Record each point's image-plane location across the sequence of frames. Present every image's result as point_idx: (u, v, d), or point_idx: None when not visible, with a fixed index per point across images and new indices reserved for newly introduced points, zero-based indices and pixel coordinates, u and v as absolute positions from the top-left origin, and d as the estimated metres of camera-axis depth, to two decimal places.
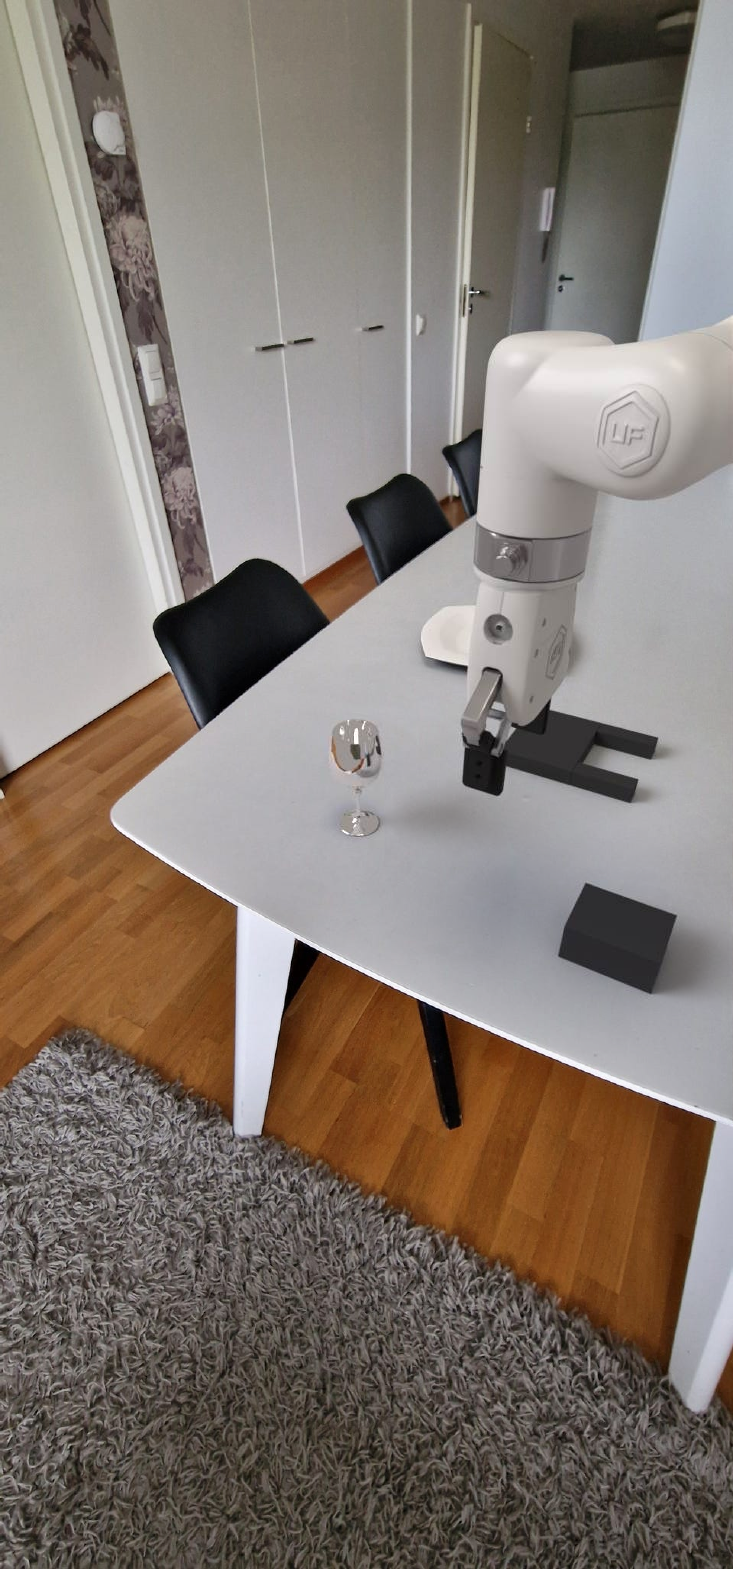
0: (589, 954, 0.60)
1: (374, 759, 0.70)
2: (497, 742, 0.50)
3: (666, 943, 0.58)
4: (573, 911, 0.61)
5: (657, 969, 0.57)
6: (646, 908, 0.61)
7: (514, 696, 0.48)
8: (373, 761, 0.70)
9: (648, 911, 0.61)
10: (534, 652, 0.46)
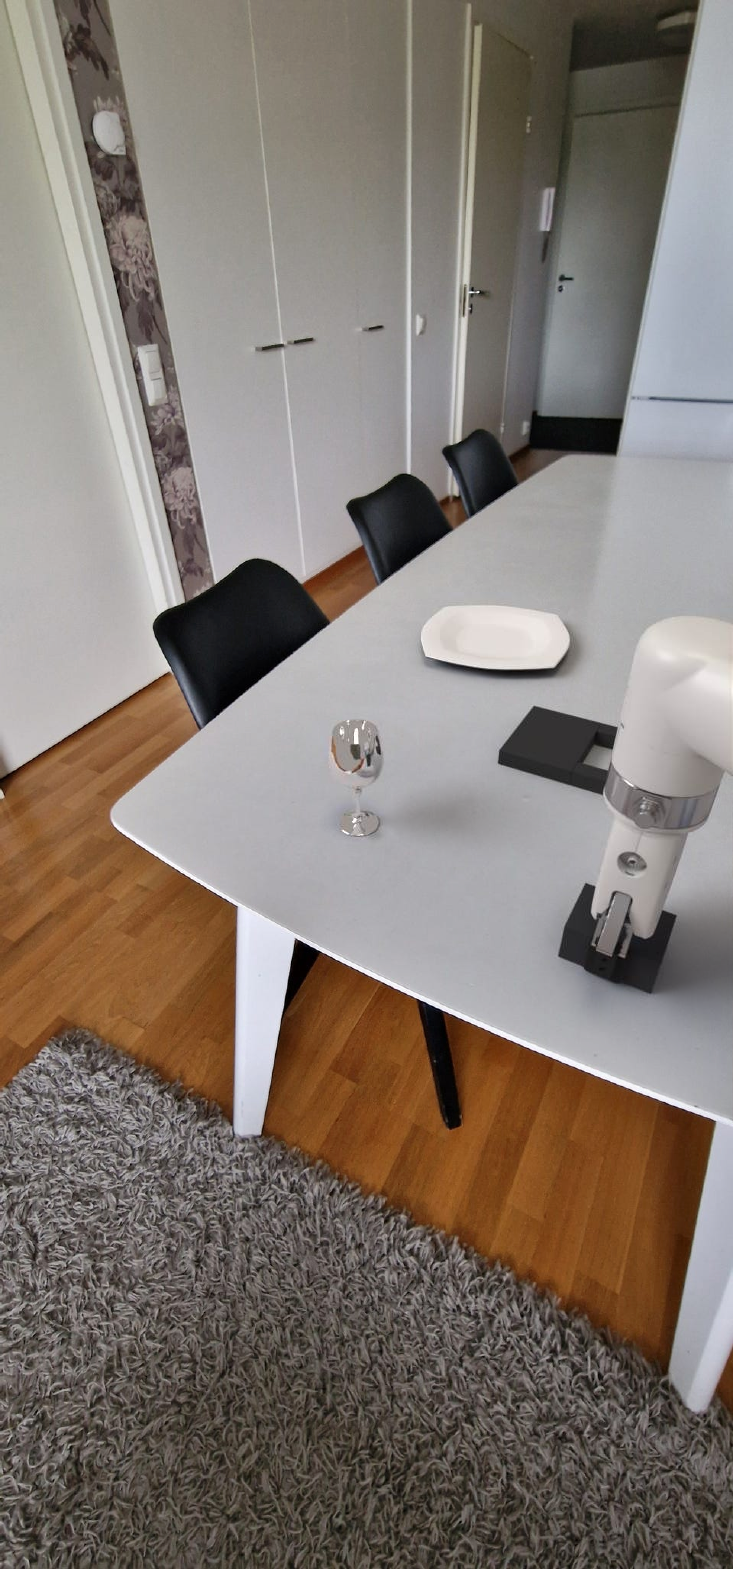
0: None
1: (373, 759, 0.70)
2: (624, 949, 0.56)
3: (666, 943, 0.58)
4: (573, 911, 0.61)
5: (657, 969, 0.57)
6: None
7: (642, 917, 0.52)
8: (373, 761, 0.70)
9: None
10: (665, 885, 0.51)
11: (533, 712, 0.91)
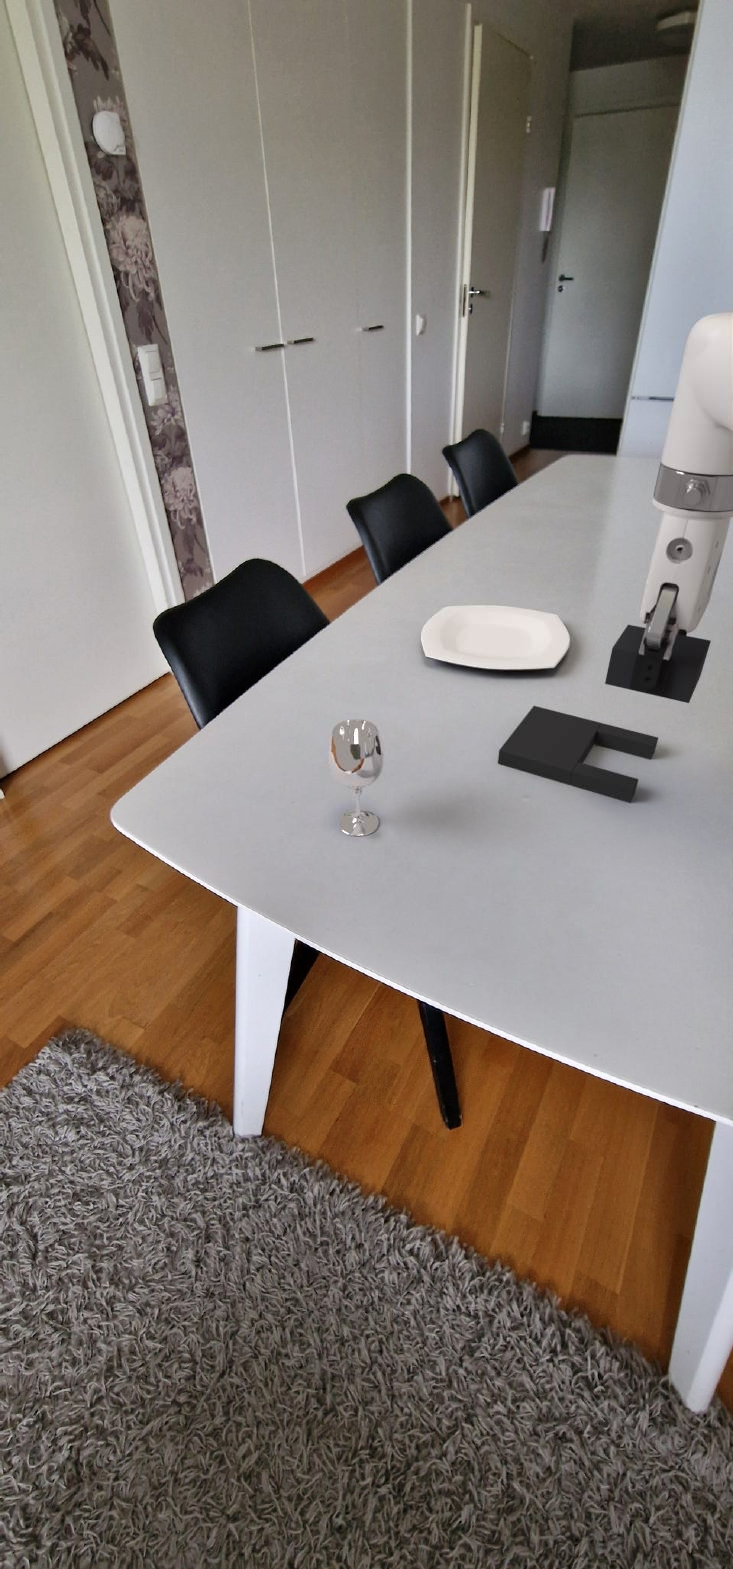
0: None
1: (373, 759, 0.70)
2: (668, 650, 0.64)
3: (703, 655, 0.66)
4: (619, 639, 0.69)
5: (696, 673, 0.65)
6: (683, 637, 0.69)
7: (687, 606, 0.60)
8: (373, 761, 0.70)
9: (685, 639, 0.69)
10: (708, 568, 0.59)
11: (533, 712, 0.91)
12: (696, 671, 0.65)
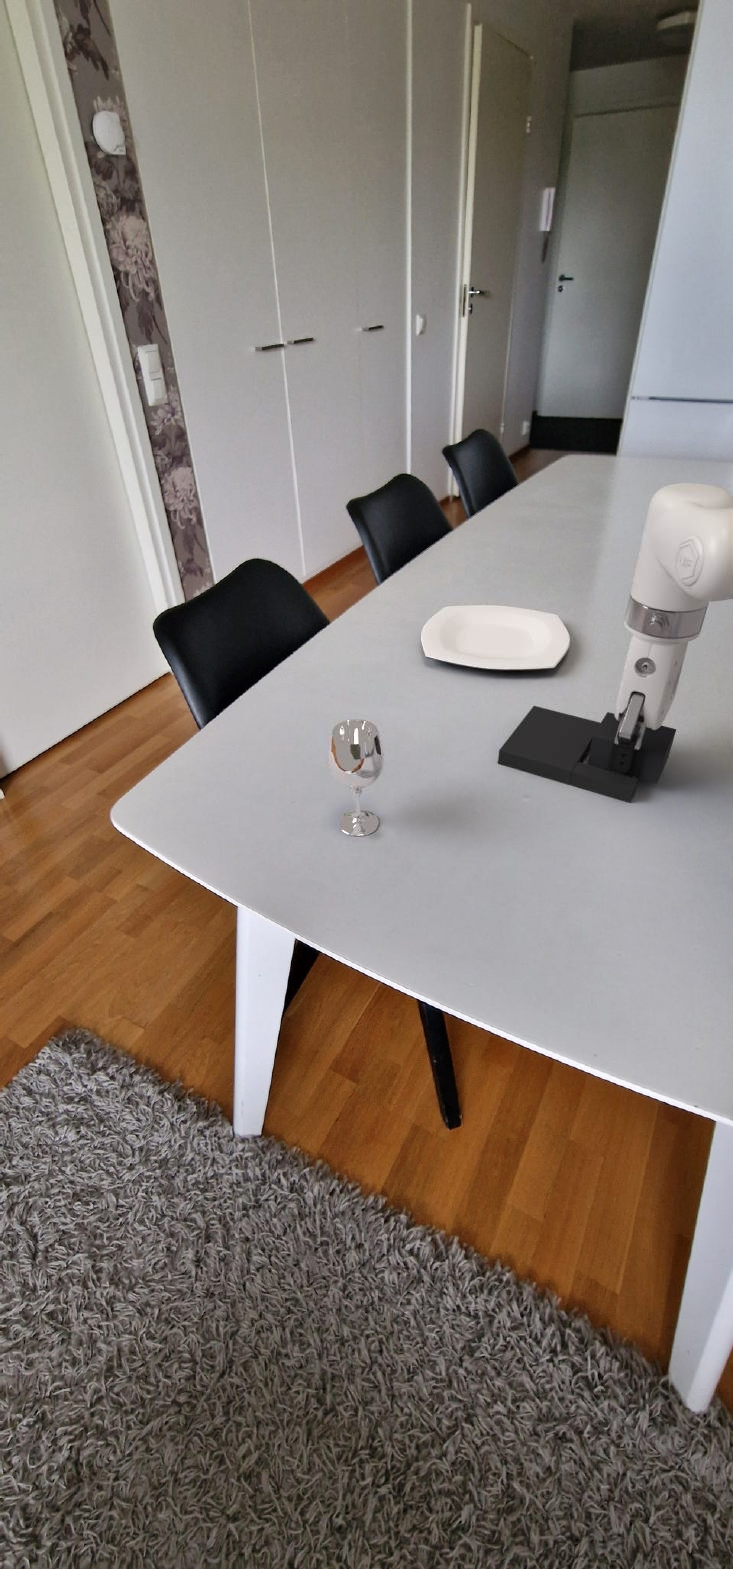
0: None
1: (373, 759, 0.70)
2: (638, 742, 0.76)
3: (668, 744, 0.79)
4: (599, 727, 0.82)
5: (662, 760, 0.78)
6: None
7: (652, 710, 0.73)
8: (373, 761, 0.70)
9: None
10: (668, 682, 0.71)
11: (533, 712, 0.91)
12: (662, 759, 0.78)
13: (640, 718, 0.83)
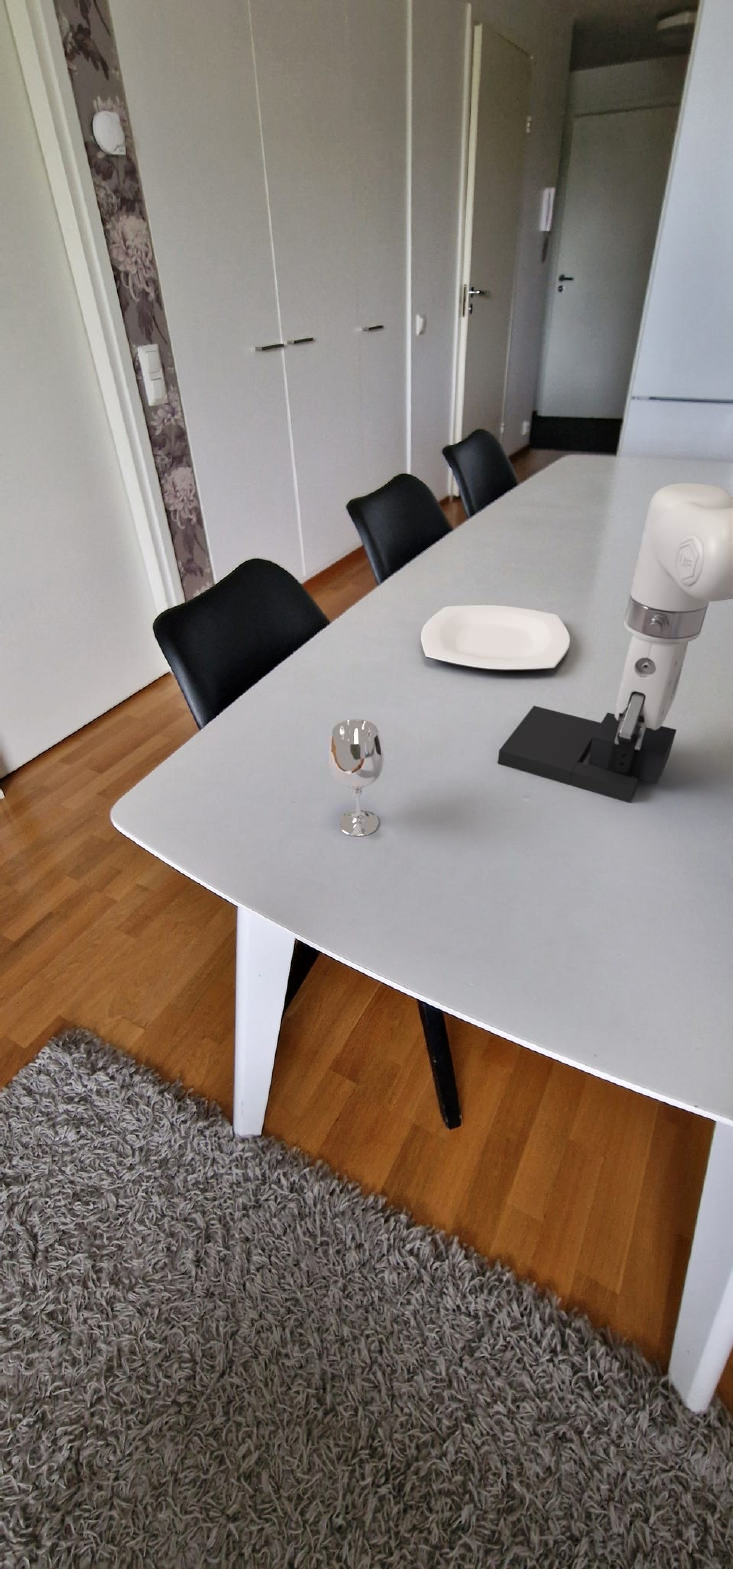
0: None
1: (373, 759, 0.70)
2: (638, 743, 0.76)
3: (668, 744, 0.79)
4: (599, 728, 0.82)
5: (662, 761, 0.78)
6: None
7: (652, 710, 0.73)
8: (373, 761, 0.70)
9: None
10: (668, 682, 0.71)
11: (533, 712, 0.91)
12: (662, 759, 0.78)
13: (640, 719, 0.83)
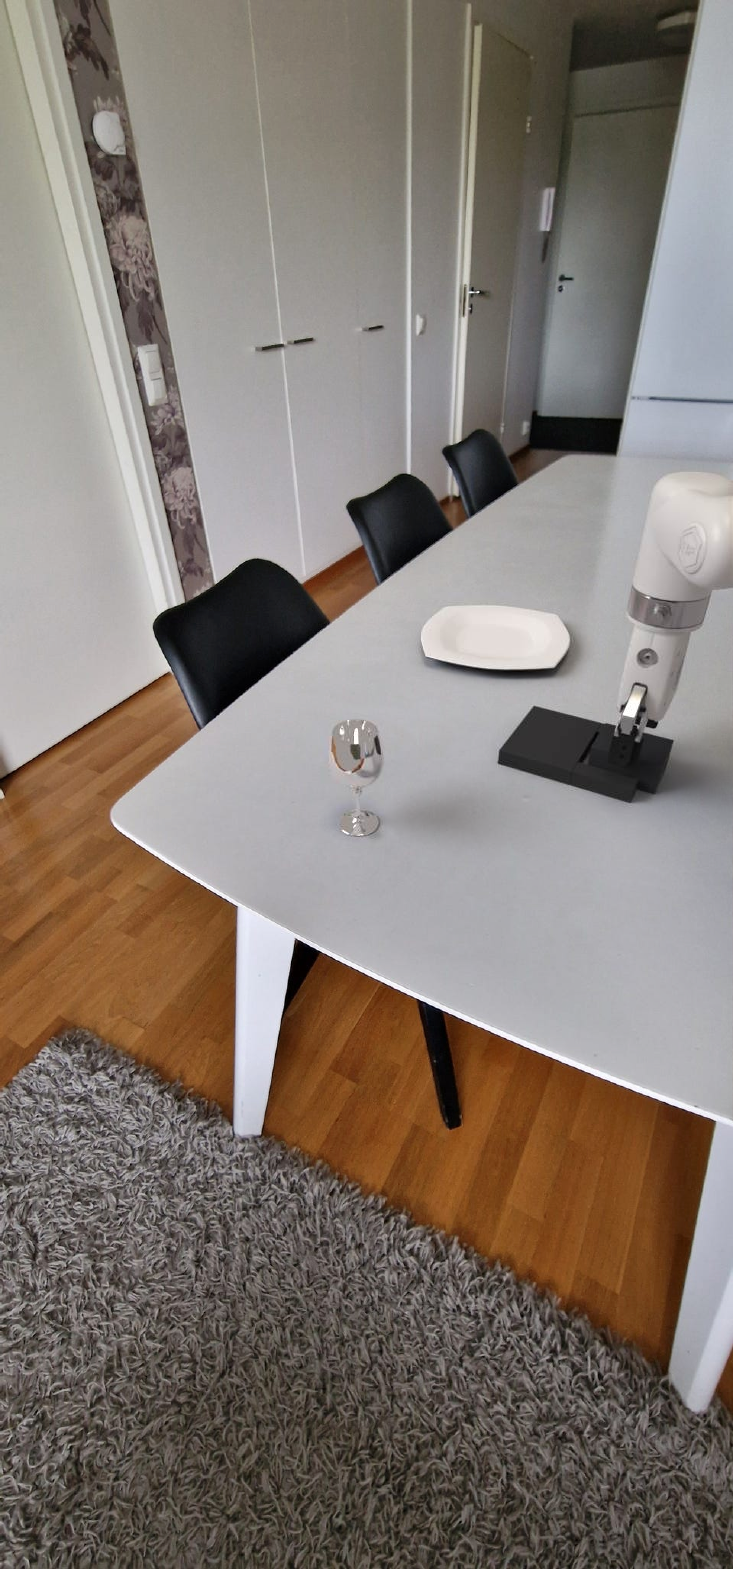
0: (609, 768, 0.82)
1: (373, 759, 0.70)
2: (639, 733, 0.74)
3: (666, 755, 0.80)
4: (597, 738, 0.83)
5: (659, 771, 0.79)
6: (651, 736, 0.83)
7: (654, 702, 0.72)
8: (373, 761, 0.70)
9: (652, 738, 0.82)
10: (671, 673, 0.71)
11: (533, 712, 0.91)
12: (660, 770, 0.78)
13: None
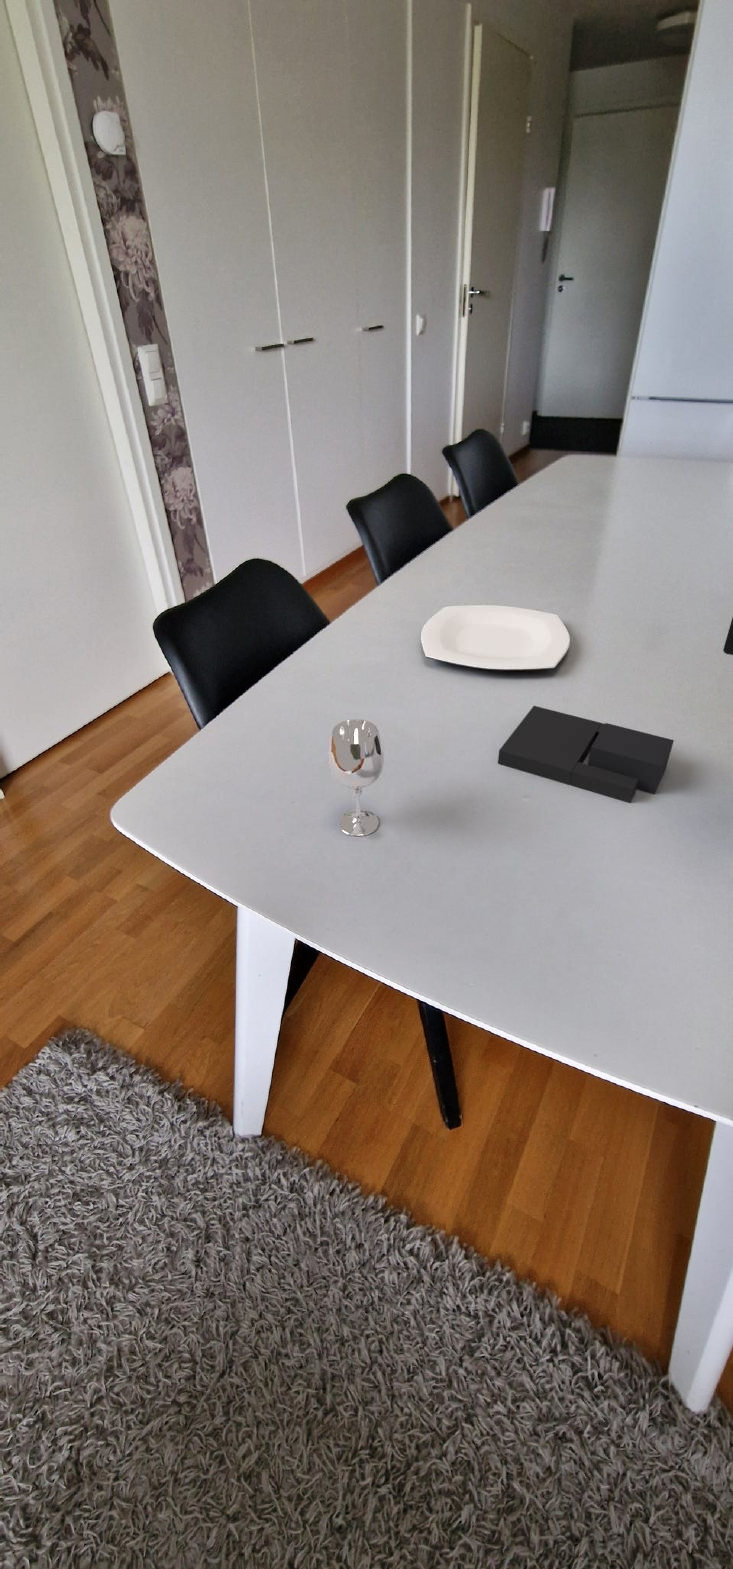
0: (609, 768, 0.82)
1: (373, 759, 0.70)
2: None
3: (666, 755, 0.80)
4: (597, 738, 0.83)
5: (659, 771, 0.79)
6: (651, 736, 0.83)
7: None
8: (373, 761, 0.70)
9: (652, 738, 0.82)
10: None
11: (533, 712, 0.91)
12: (660, 770, 0.78)
13: None
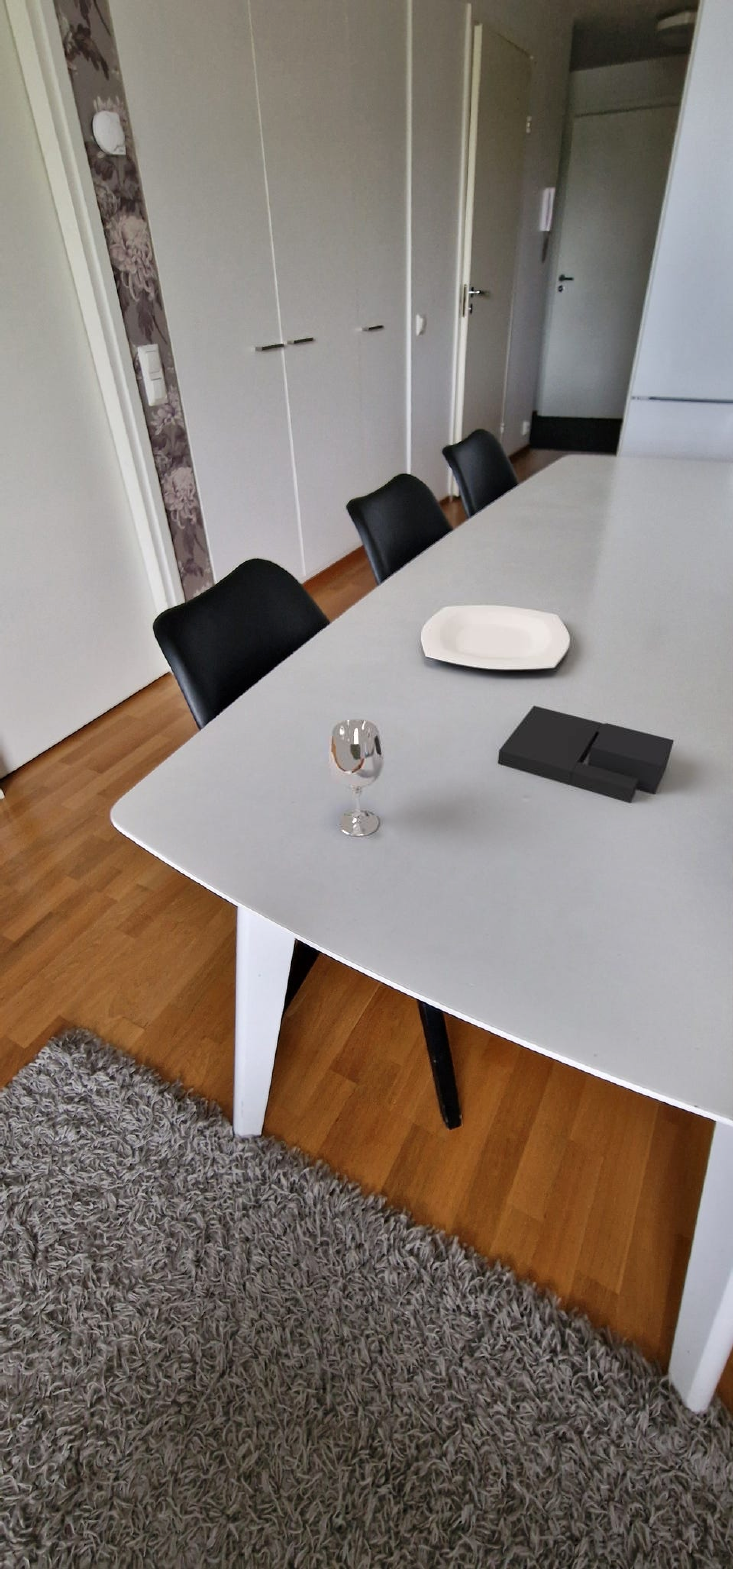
0: (609, 768, 0.82)
1: (373, 759, 0.70)
2: None
3: (666, 755, 0.80)
4: (597, 738, 0.83)
5: (659, 771, 0.79)
6: (651, 736, 0.83)
7: None
8: (373, 761, 0.70)
9: (652, 738, 0.82)
10: None
11: (533, 712, 0.91)
12: (660, 770, 0.78)
13: None
